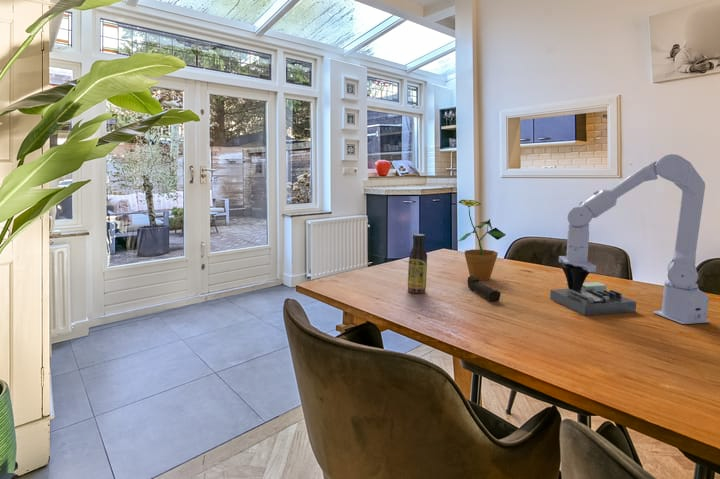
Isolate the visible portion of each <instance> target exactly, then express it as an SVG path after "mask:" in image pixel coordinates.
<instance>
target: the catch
mask: <svg viewBox="0 0 720 479" xmlns="http://www.w3.org/2000/svg"><path fill="white" fill-rule="evenodd" d="M582 288H584V289H587V290H590V291H595V292H598V291H602V292H604V290H606V291H607V284H604V283H601V282H599V281H591V282H584V283H583V285H582Z"/></svg>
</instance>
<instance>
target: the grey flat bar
mask: <svg viewBox="0 0 720 479" xmlns="http://www.w3.org/2000/svg"><path fill="white" fill-rule="evenodd" d="M565 289H566V290H569V291H571V292H573V293H575V294H578V295H580V296H582V297H584V298H586V299H587V297H592V298H594V302H603V301H604V299H603V298H600V297H597V296H595V295H593V294H590V293H588V292H586V291H583V290H577V291H574V290H573V288H568V287H566V288H565Z"/></svg>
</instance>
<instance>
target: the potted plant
mask: <svg viewBox="0 0 720 479" xmlns="http://www.w3.org/2000/svg"><path fill="white" fill-rule="evenodd" d="M458 203H459V204H460V205H461V204H462V205H464V206H467V207H468V216H469V221H470V223H471V226H472V229H473V231H471V232H468V233H465V235H463V236H462V237H461V238H460V239H458V240H457V242H461V241H464V240H466V239H467V238H468V237H469V236H471V235H472V234H475V236H476V238H477V240H478V247H479V249H467V250H464V257H465V260H466V265H467V269H468V274H469V276H473V277H475V278H477V279H479V281H487V280H490V279H491V276H492V273H493V270H494V268H495V264H496V261H497V258H498V255H499V252H498V251H495V250H489V249H483V247H482V244H481V241H482V240H483V238H484V237H485V236H487V234H488V235H490V236H491V237H492V238H494V239H495V240H496V241H498V240H500V239H502V238H503V237H506V235H507V234H506V233H504V232H503V231H502V230H500V229H498V228H497V227H492V224H491V219H490V218H489V219H488V220H486V221H481V222H480V224H478V225H475V226H474V224H473V220H472V216H471V209H470V208H471V207H478V206H480V205H481V204H482V203H481V202H479V201H476V200H474V199H473V200H472V199H471V200H470V199H461V200H458ZM485 225H487V226H486V227H487V228H486V232H485V233H484V235H482V236H481V237H480V238H479V235H478V231H477V230H476V228H478V229H482V227H484V226H485ZM489 228H490V230H489Z"/></svg>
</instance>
